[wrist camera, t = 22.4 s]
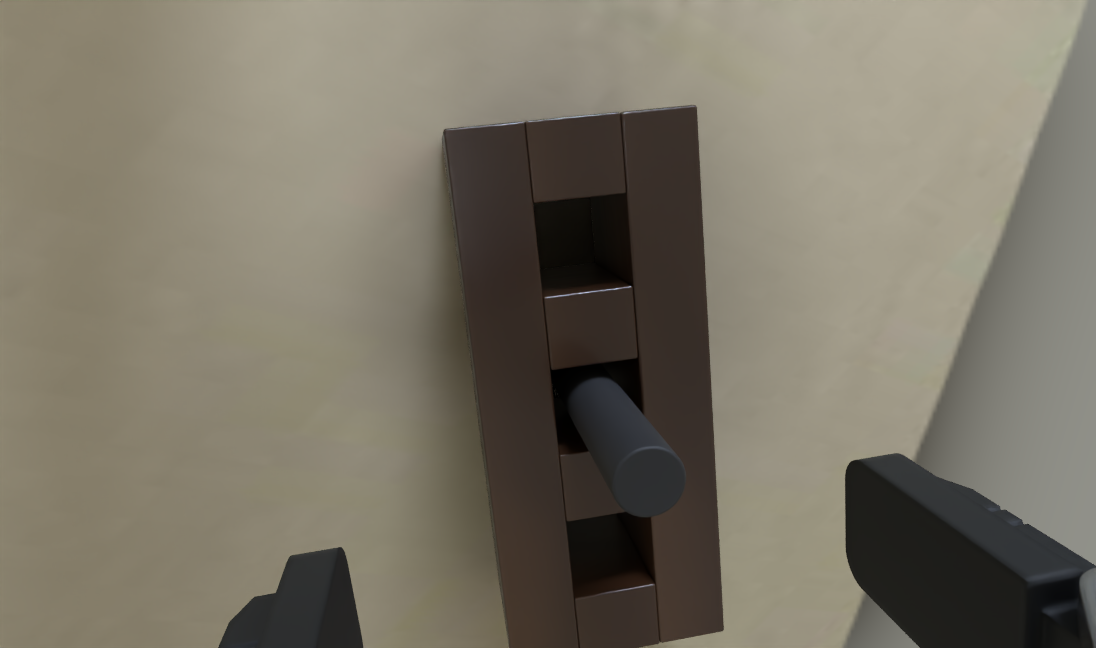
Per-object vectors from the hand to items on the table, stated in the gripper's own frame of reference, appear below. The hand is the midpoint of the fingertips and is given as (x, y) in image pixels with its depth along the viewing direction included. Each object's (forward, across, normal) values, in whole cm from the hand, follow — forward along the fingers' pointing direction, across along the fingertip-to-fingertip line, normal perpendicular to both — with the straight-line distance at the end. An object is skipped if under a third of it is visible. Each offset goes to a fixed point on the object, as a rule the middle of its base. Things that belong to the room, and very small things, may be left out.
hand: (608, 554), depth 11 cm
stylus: (+19, -2, +3) cm, 19 cm away
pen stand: (+19, -2, +3) cm, 19 cm away
